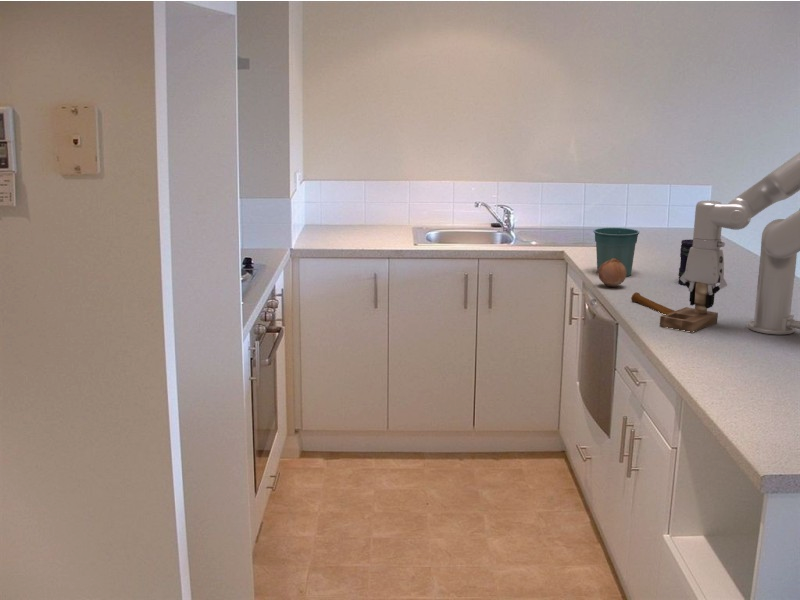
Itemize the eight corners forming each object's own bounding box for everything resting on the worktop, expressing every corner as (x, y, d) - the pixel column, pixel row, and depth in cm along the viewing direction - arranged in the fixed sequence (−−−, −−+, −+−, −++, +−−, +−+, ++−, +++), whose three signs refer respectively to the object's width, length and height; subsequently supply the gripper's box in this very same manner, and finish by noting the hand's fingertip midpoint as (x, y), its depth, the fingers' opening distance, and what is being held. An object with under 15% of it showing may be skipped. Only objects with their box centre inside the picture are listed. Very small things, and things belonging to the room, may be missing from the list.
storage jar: (713, 284, 330) (716, 242, 326) (694, 288, 324) (698, 245, 321) (690, 279, 338) (693, 238, 334) (671, 282, 332) (674, 240, 329)
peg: (710, 313, 276) (713, 279, 274) (704, 315, 274) (706, 281, 271) (697, 310, 279) (699, 277, 277) (690, 313, 276) (693, 279, 274)
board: (717, 322, 278) (718, 312, 277) (692, 332, 266) (693, 322, 265) (685, 316, 284) (686, 307, 284) (659, 326, 273) (660, 316, 272)
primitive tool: (680, 315, 288) (680, 303, 287) (665, 317, 286) (666, 305, 285) (638, 302, 305) (639, 291, 304) (625, 303, 303) (625, 293, 302)
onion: (616, 283, 331) (618, 255, 328) (630, 289, 322) (632, 260, 320) (592, 285, 328) (593, 256, 325) (606, 290, 319) (608, 261, 317)
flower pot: (607, 280, 336) (609, 235, 332) (582, 271, 351) (584, 228, 347) (645, 277, 342) (649, 233, 338) (619, 268, 357) (622, 226, 353)
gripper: (740, 246, 269) (734, 308, 273) (685, 239, 280) (680, 299, 284) (728, 249, 264) (723, 313, 268) (673, 242, 275) (668, 303, 279)
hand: (701, 305), depth 276 cm, fingers closed on peg, 4 cm apart
